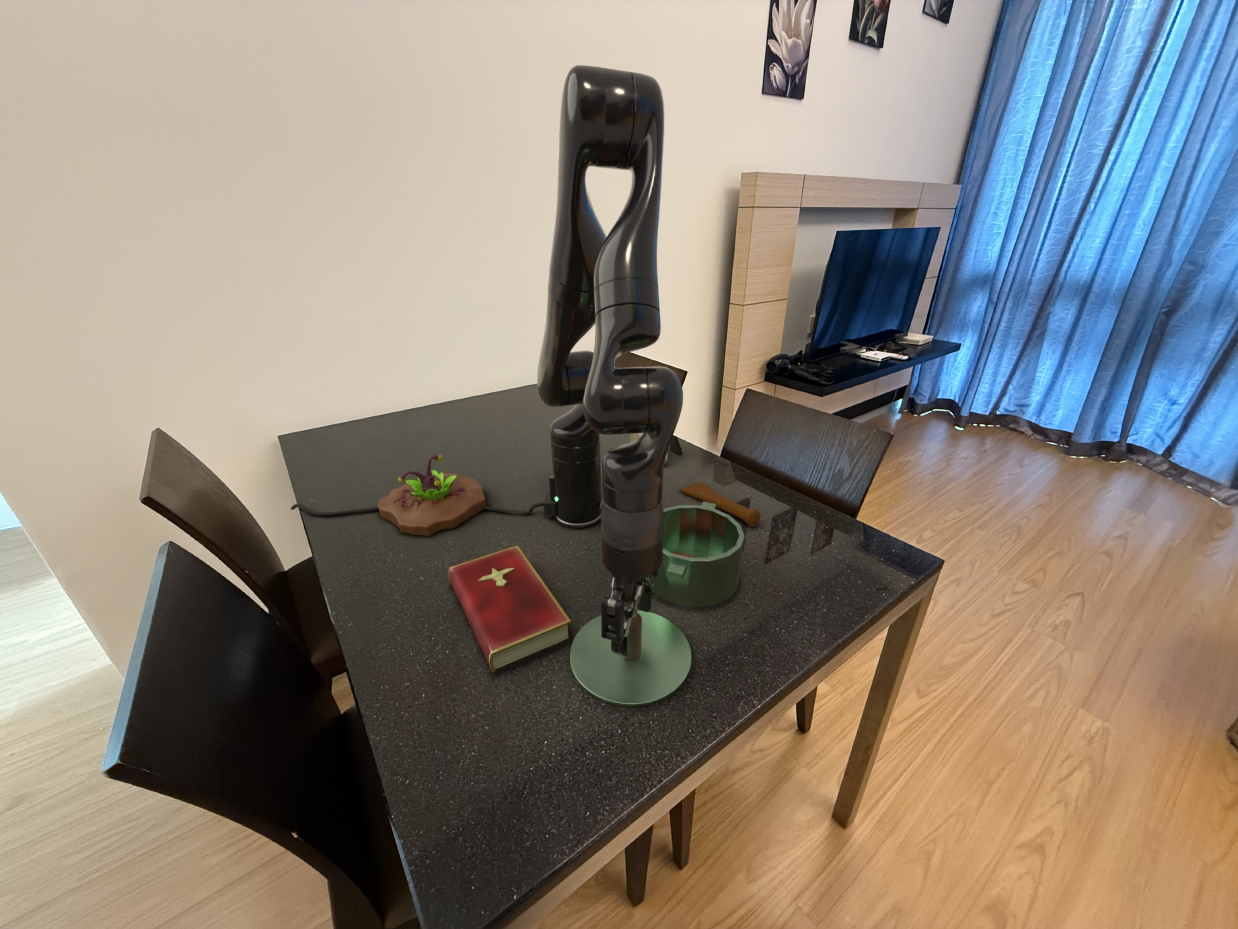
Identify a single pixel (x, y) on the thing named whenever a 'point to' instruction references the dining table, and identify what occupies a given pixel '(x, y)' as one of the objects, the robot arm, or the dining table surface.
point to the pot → (699, 556)
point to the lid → (632, 662)
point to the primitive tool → (723, 503)
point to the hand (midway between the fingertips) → (632, 630)
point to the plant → (432, 501)
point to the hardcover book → (508, 606)
